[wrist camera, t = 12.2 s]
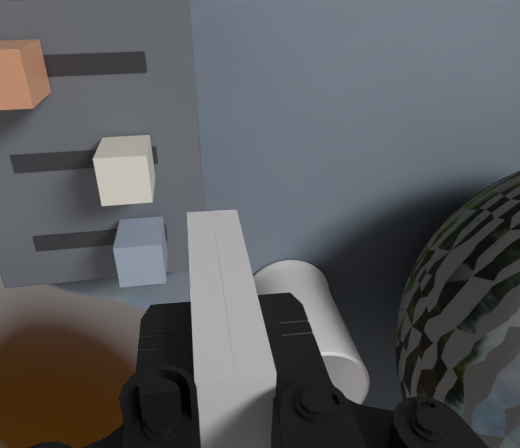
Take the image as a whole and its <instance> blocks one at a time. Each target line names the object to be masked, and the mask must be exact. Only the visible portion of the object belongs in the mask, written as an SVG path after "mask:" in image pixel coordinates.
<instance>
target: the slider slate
mask: <svg viewBox="0 0 520 448" xmlns="http://www.w3.org/2000/svg"><path fill="white" fill-rule="evenodd" d="M113 251H114V257H115V262H116V267H117V273H118V278H119V283H120V288H121V287H131V286H142V285H152V284H162V283H166V278H167V245H166V237H165V229H164V221H163V216H160V217H147V218H135V219H122V220H120V221H119V225H118V229H117V234H116V238H115V242H114V247H113Z"/></svg>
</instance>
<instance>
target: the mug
mask: <svg viewBox="0 0 520 448" xmlns="http://www.w3.org/2000/svg"><path fill="white" fill-rule="evenodd" d="M253 279H254V283H255V287H256V291H257V295H263V294H275V293H288V292H290V293H291V294H292V295H293V296H294V297H296V298H297V299H298V300H299V301H300V302H301V303H302V304H303V307H304V309H305V312H306V315H307V317H308V322H309V323H310V326H311V328H312V332H313V334H314V336H315V339H316V342H317V345H318V347H319V350H320V353H321V355H322V358H323V361H324V363H325V366H326V369H327V372H328V374H329V377H330V379H331V381H332V383H333V385H334V386H335V387H336V388H338V389H339V390H340V391H342V392H343V394H344V396H345V397H346V398H348V399H349V400H351V401H353V402H355V403H357V404H360V405H361V404H362V403H363V401H364V400H365V398H366V396H367V393H368V390H369V385H370V380H369V375H368V372H367V369H366V367H365V365H364V363H363V361H362V359H361V357H360V355H359V353H358V350H357V348H356V346H355V344H354V342H353V340H352V338H351V336H350V334H349V332H348V330H347V327H346V325H345V323H344V321H343V319H342V317H341V315H340V313H339V311H338V309H337V307H336V304H335V302H334V300H333V298H332V296H331V294H330V291H329V285H328V282H327V280H326V278H325V276H324V275H323V273H322V272H321V271H320V270H319V269H318V268H316V267H315V266H313V265H311V264H309V263H306V262H303V261H298V260H285V261H279V262H276V263H273V264H270V265H268V266H266V267H264V268H262V269H261V270H259V271H258V272H257V273H256V274H255V275H254V276H253Z"/></svg>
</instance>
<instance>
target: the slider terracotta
mask: <svg viewBox="0 0 520 448" xmlns="http://www.w3.org/2000/svg"><path fill="white" fill-rule="evenodd" d="M49 93H51V90H50V85H49V81H48V76H47V71H46V67H45V62H44V58H43V53H42V49H41V44H40V40H39V39H30V40H0V110H14V109H33V108H34V107H36V106H37V105H38V104H39V103H40V102H41V101H42V100H43V99H44V98H45V97H46V96H47V95H48V94H49Z"/></svg>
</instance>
